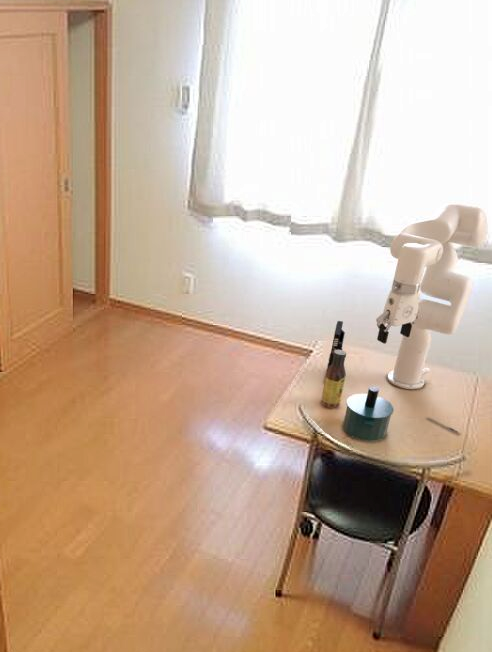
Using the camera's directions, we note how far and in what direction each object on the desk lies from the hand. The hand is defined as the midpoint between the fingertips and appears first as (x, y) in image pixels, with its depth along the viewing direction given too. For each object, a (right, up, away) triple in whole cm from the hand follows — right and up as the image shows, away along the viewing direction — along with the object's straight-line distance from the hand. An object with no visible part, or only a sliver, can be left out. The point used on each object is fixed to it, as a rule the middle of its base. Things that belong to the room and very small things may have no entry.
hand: (393, 338), depth 200 cm
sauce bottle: (-12, -21, +24) cm, 34 cm away
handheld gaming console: (-7, -11, +40) cm, 42 cm away
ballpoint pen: (+21, -28, +13) cm, 38 cm away
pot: (-5, -29, +10) cm, 31 cm away
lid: (-5, -21, +6) cm, 22 cm away
